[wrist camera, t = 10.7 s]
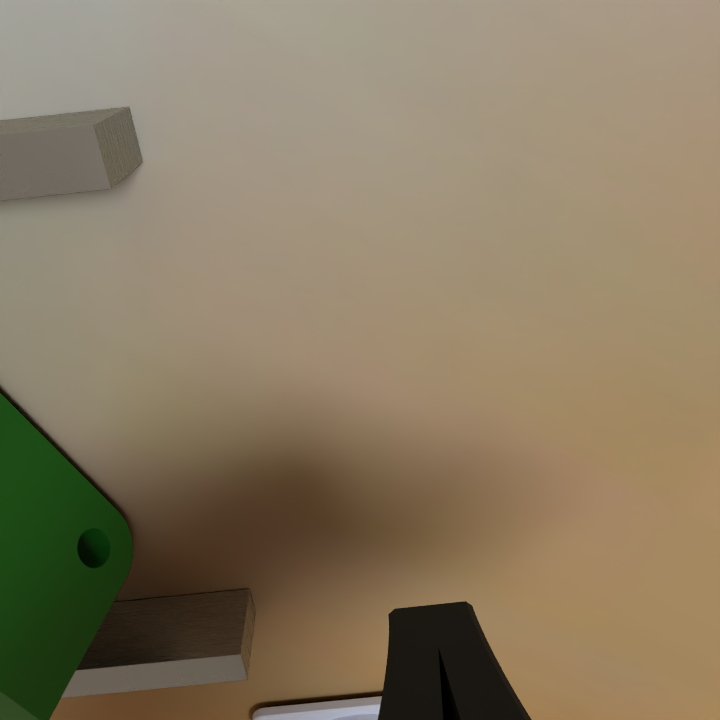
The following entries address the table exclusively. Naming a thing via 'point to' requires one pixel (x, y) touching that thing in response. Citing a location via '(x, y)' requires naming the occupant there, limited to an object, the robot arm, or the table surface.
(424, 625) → the robot arm
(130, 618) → the u-shaped bracket
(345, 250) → the table surface
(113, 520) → the clamp
